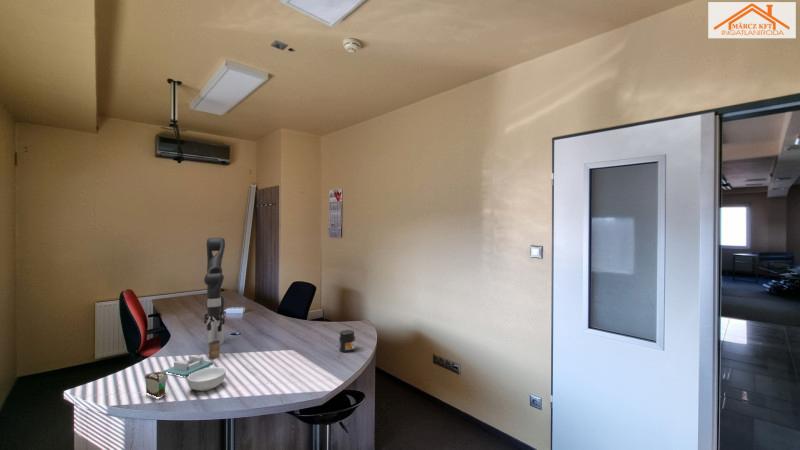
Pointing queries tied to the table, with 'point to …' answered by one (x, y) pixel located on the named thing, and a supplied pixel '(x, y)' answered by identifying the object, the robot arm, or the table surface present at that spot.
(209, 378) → the cereal bowl
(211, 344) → the brown upright block
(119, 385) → the table surface
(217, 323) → the robot arm
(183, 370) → the dish
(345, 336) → the supplement container
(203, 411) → the table surface
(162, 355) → the table surface
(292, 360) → the table surface
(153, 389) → the food container
